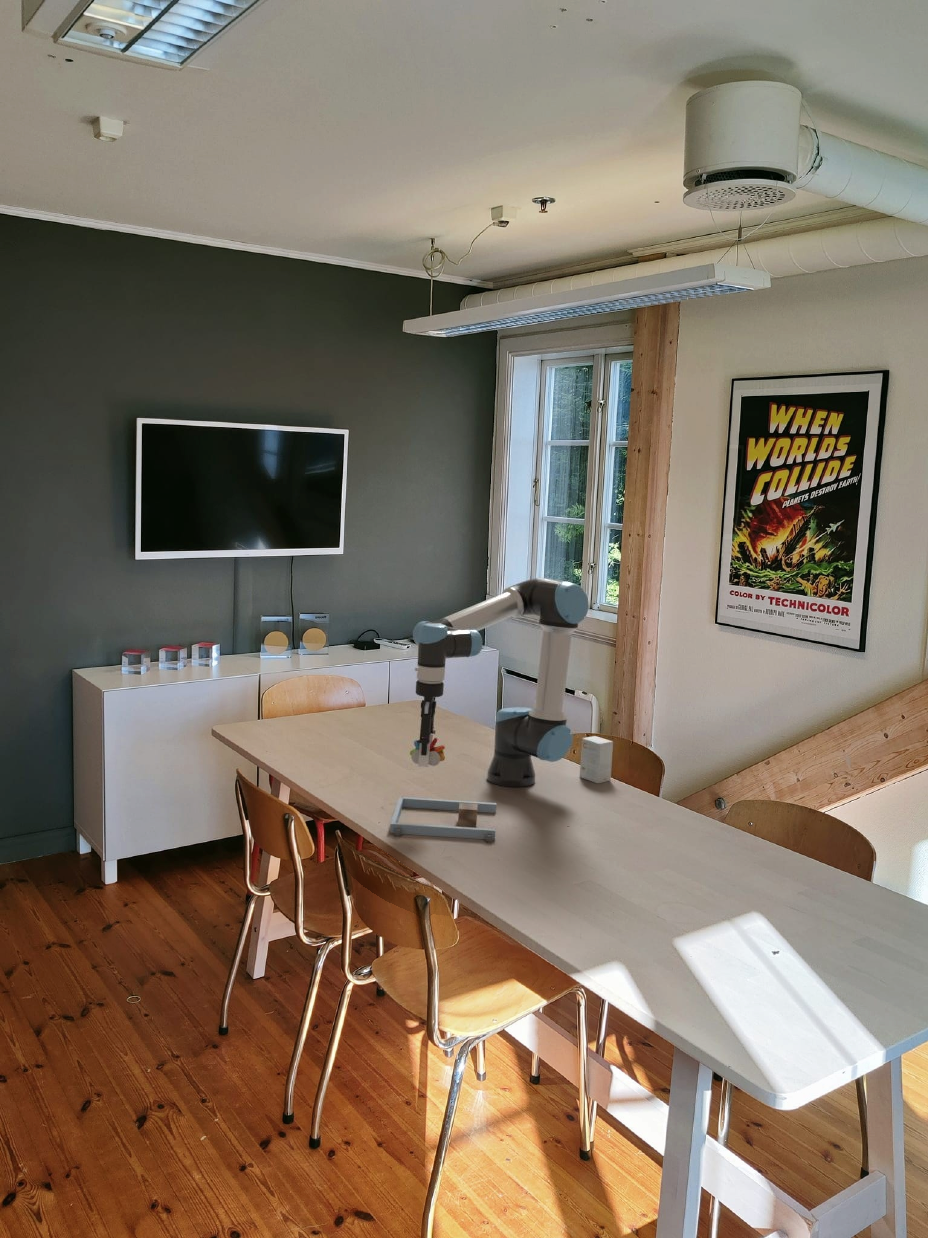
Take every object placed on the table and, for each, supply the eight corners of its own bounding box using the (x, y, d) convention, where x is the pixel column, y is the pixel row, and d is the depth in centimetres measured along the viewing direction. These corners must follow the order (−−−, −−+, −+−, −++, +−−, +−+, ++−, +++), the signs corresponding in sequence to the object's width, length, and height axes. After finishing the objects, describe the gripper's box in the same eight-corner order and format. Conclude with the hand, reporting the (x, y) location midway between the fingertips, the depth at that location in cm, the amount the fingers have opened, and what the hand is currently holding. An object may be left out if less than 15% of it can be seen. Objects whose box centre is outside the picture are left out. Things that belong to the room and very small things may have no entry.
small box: (610, 780, 323) (613, 741, 321) (597, 784, 319) (600, 744, 317) (592, 774, 329) (595, 735, 327) (578, 777, 325) (581, 737, 323)
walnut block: (476, 821, 280) (477, 804, 279) (476, 827, 275) (477, 810, 274) (458, 820, 280) (459, 803, 279) (457, 826, 275) (458, 808, 274)
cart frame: (496, 809, 290) (496, 800, 290) (494, 843, 264) (495, 833, 263) (399, 802, 291) (400, 794, 291) (388, 836, 265) (389, 826, 264)
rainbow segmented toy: (441, 768, 272) (443, 742, 271) (406, 764, 273) (408, 738, 272) (446, 760, 280) (448, 735, 279) (412, 756, 282) (414, 731, 281)
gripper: (420, 672, 285) (415, 750, 288) (412, 687, 263) (406, 771, 266) (446, 674, 284) (441, 752, 287) (440, 689, 263) (435, 773, 266)
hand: (424, 761), depth 277 cm, fingers closed on rainbow segmented toy, 9 cm apart
